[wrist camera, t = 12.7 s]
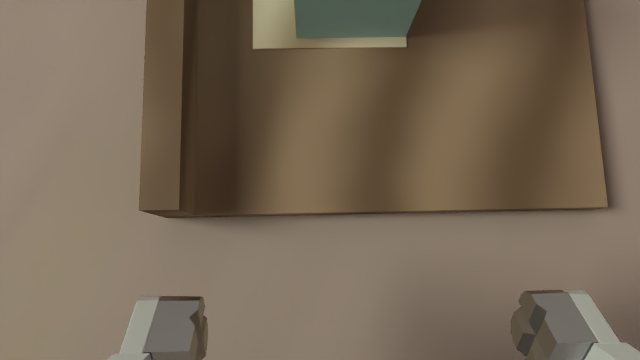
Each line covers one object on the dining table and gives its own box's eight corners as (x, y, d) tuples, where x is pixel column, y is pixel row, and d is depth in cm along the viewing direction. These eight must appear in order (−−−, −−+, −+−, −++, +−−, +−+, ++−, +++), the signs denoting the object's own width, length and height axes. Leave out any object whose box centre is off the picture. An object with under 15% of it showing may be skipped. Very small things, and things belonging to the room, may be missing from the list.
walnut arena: (166, 217, 22) (138, 210, 18) (176, -128, 24) (154, -192, 21) (594, 209, 22) (647, 200, 19) (556, -130, 25) (596, -192, 21)
